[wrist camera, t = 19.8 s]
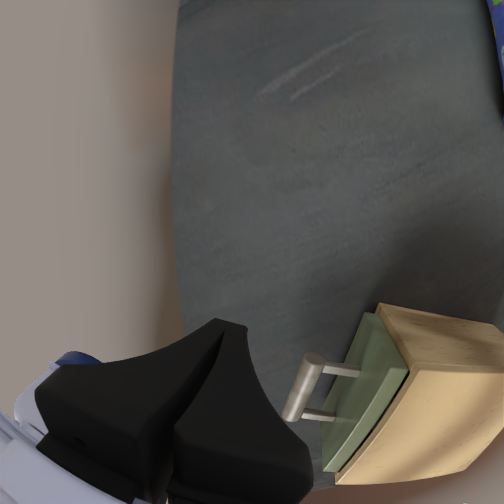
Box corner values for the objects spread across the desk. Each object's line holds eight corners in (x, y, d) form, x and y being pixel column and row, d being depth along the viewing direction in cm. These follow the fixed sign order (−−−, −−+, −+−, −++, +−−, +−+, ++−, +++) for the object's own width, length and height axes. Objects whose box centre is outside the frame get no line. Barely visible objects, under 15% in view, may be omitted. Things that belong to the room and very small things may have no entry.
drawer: (276, 403, 21) (268, 465, 15) (312, 300, 19) (319, 357, 12) (430, 416, 20) (449, 463, 14) (481, 331, 17) (520, 372, 11)
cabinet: (329, 410, 22) (334, 484, 14) (378, 301, 19) (420, 369, 11) (439, 415, 21) (464, 470, 13) (493, 324, 18) (541, 371, 10)
